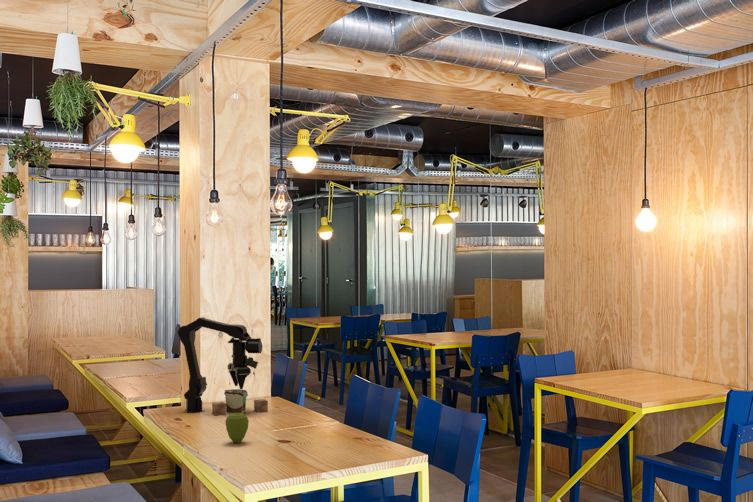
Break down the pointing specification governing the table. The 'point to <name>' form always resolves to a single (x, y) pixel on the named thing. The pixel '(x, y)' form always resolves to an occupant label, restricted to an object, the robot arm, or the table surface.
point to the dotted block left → (219, 408)
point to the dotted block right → (261, 405)
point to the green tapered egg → (237, 426)
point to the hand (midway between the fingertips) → (238, 387)
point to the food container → (235, 400)
